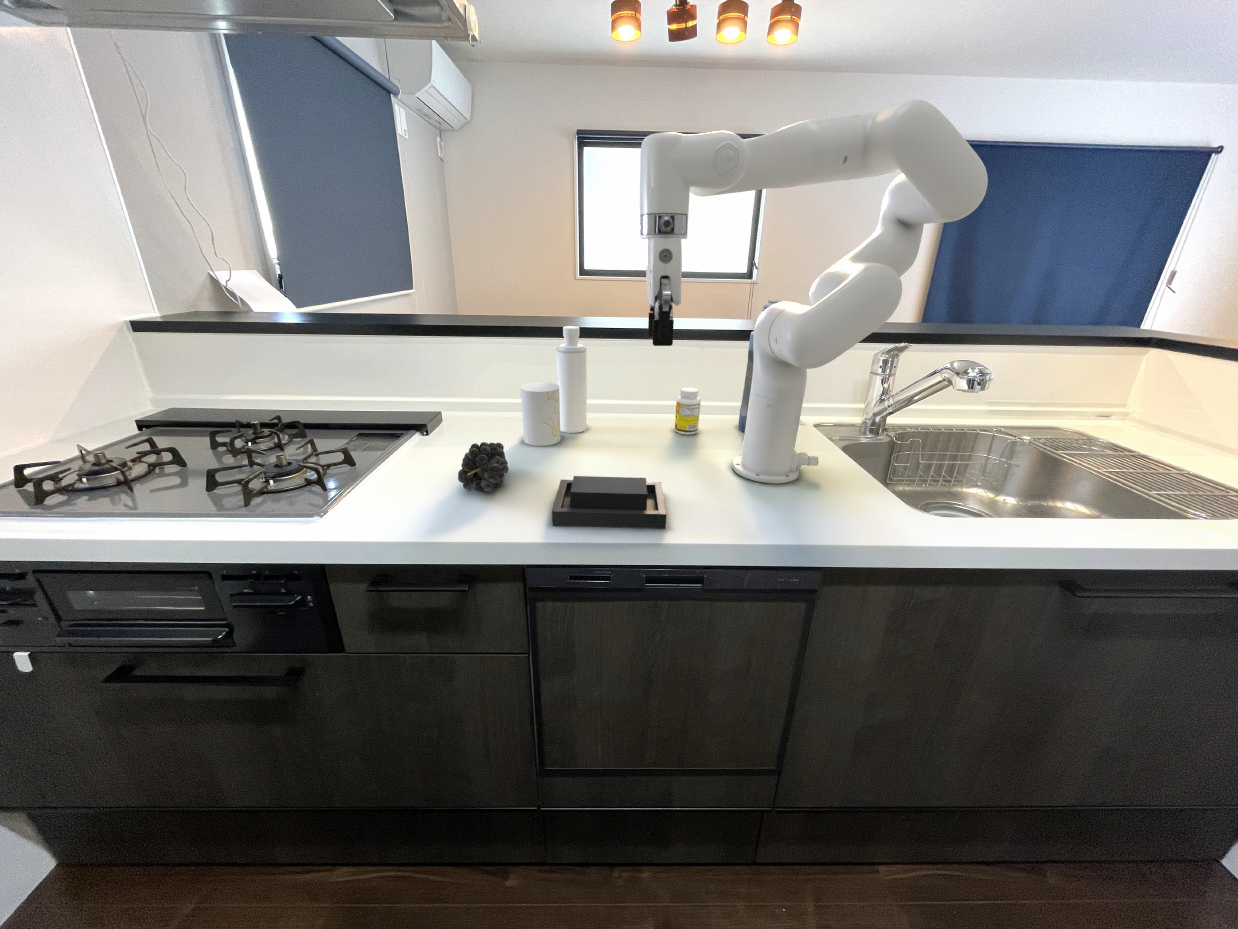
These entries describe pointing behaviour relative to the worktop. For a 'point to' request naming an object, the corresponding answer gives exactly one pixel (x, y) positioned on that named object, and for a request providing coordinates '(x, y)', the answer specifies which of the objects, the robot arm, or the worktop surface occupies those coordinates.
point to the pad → (608, 493)
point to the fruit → (483, 467)
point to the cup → (541, 413)
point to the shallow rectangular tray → (610, 511)
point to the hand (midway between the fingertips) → (659, 340)
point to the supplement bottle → (687, 411)
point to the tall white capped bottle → (572, 382)
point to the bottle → (750, 375)
